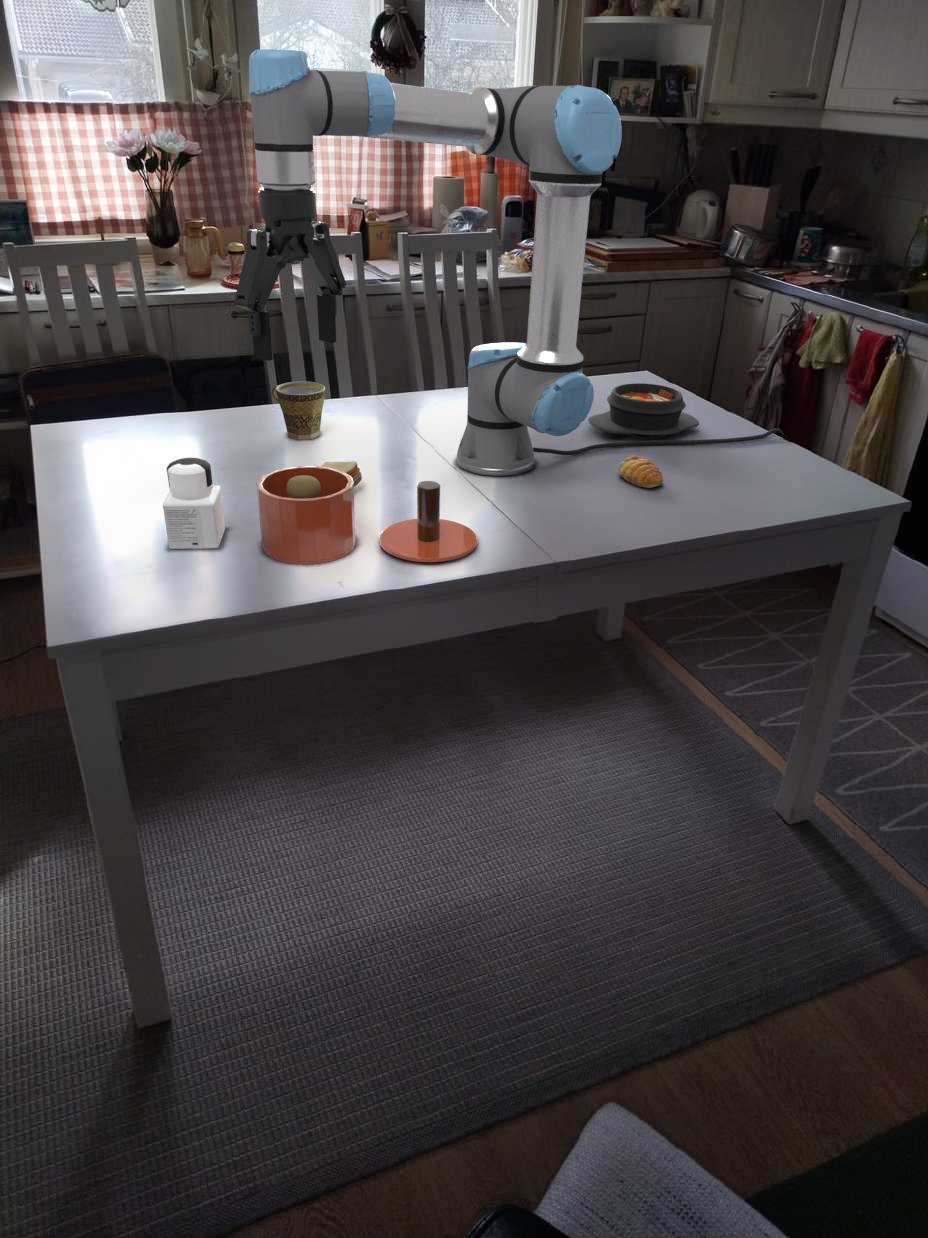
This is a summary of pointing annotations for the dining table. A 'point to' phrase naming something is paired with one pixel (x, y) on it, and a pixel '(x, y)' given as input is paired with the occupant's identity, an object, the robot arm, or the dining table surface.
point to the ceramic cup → (301, 408)
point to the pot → (307, 516)
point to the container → (193, 506)
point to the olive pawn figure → (303, 487)
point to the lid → (428, 532)
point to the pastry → (640, 472)
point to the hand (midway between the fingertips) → (296, 349)
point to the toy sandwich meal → (346, 469)
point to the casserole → (644, 411)
